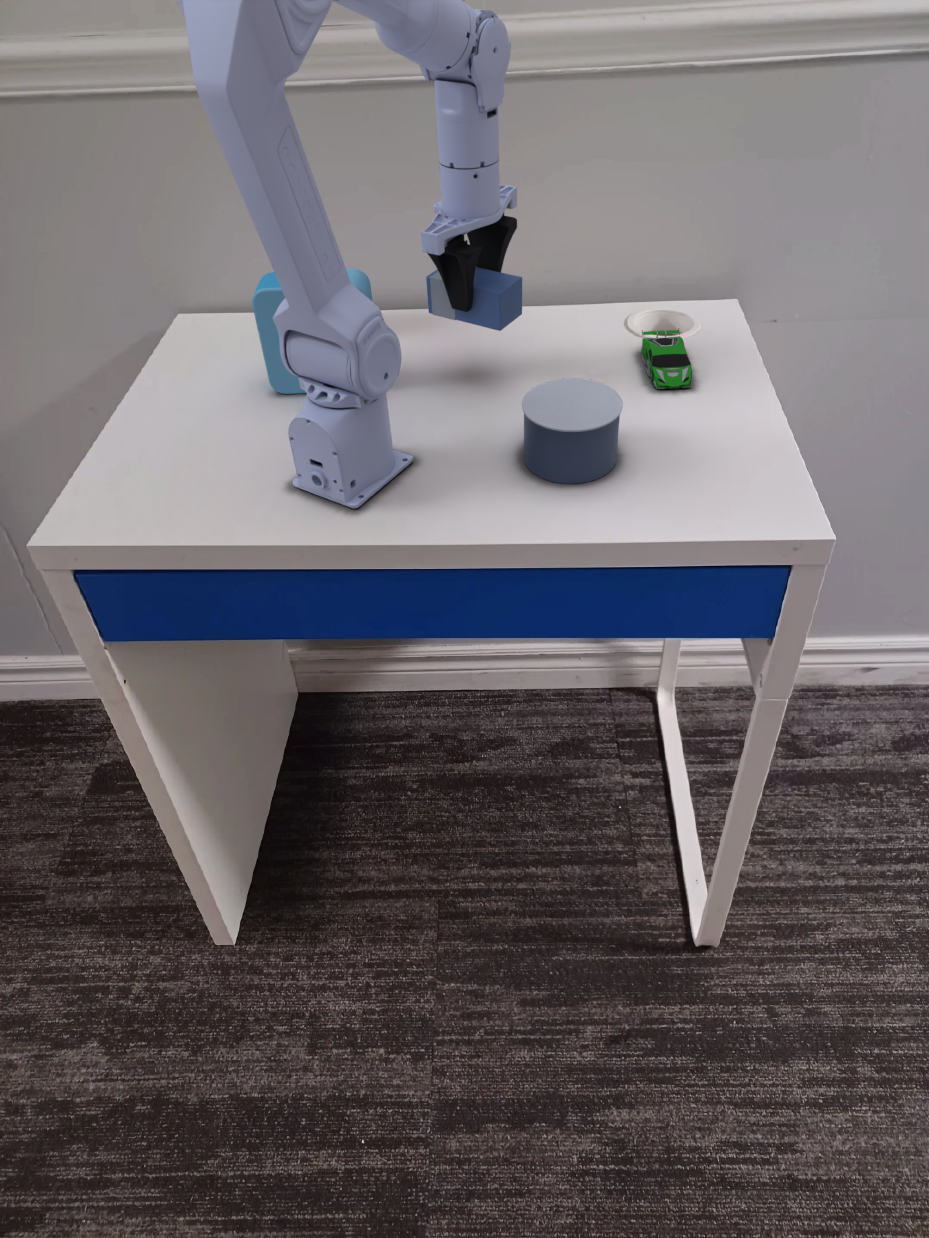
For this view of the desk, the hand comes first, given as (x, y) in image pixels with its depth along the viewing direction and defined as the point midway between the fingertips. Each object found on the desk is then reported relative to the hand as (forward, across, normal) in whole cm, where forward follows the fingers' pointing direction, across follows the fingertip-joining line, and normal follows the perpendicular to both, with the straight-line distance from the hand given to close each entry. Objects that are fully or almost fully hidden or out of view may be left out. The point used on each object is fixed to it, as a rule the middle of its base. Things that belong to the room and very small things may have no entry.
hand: (474, 299), depth 93 cm
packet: (+2, 0, 0) cm, 2 cm away
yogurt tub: (+9, +9, +16) cm, 21 cm away
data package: (+9, +9, -14) cm, 19 cm away
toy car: (+9, -12, +18) cm, 23 cm away
